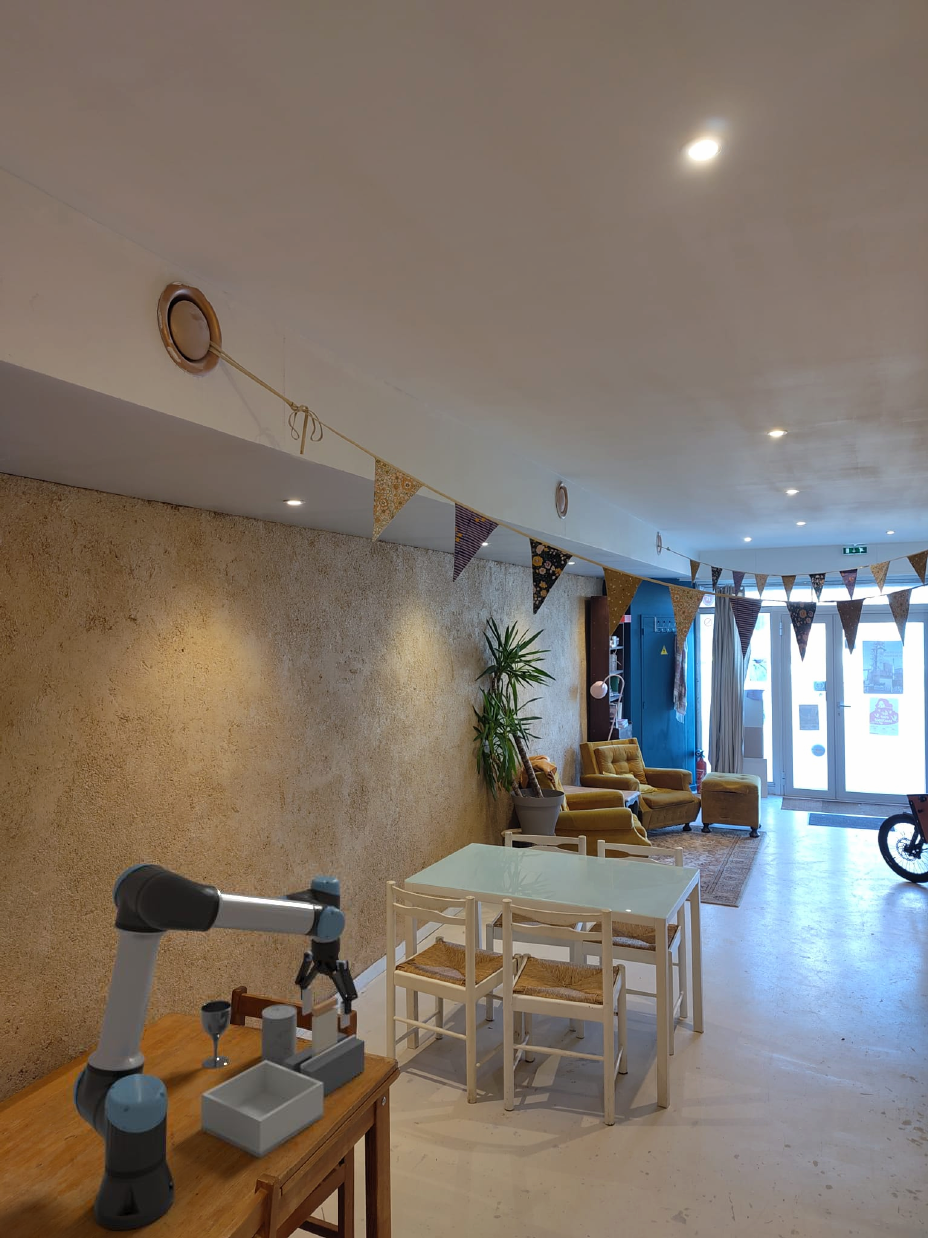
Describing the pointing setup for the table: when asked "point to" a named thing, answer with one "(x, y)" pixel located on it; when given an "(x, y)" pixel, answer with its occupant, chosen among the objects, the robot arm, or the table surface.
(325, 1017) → the cream flat board
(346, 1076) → the dispenser
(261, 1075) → the bin
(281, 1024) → the grey cylinder
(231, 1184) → the table surface
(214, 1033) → the wine glass
